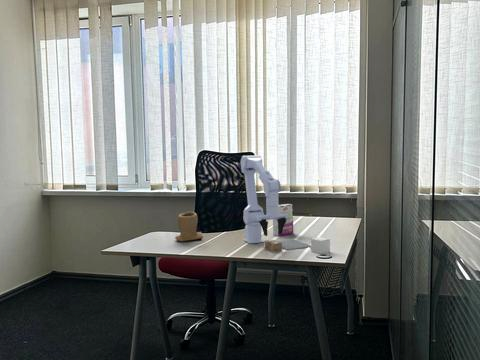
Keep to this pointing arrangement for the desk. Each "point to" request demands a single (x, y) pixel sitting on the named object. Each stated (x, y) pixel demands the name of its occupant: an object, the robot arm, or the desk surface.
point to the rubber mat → (293, 244)
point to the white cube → (320, 245)
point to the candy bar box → (289, 220)
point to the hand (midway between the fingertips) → (273, 234)
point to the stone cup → (188, 227)
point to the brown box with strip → (273, 245)
